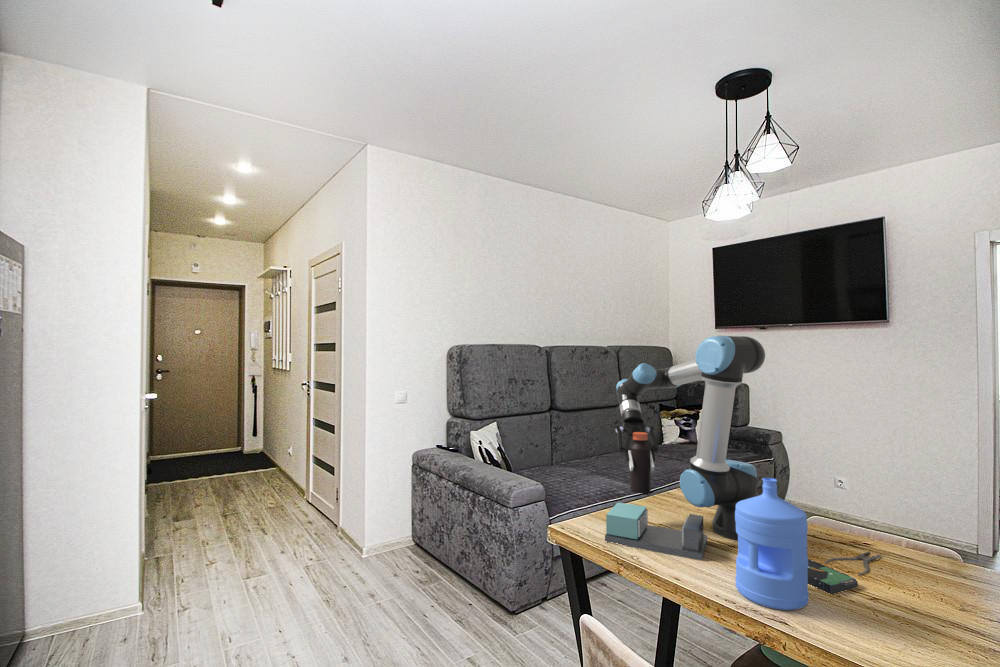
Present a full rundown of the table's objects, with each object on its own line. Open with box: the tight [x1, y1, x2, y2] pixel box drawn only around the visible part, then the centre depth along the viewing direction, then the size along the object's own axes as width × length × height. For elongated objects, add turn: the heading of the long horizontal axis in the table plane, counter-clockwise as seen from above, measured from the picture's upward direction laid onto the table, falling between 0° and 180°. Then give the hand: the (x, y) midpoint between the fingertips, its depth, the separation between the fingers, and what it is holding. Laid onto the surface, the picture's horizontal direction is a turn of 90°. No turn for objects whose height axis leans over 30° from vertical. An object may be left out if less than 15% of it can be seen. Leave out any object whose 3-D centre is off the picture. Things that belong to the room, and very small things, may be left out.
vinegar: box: [629, 431, 652, 495], centre depth 171 cm, size 7×7×20 cm
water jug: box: [735, 477, 810, 611], centre depth 121 cm, size 16×16×28 cm
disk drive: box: [808, 558, 859, 595], centre depth 129 cm, size 10×3×15 cm
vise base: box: [604, 513, 708, 561], centre depth 153 cm, size 28×16×8 cm, turn 62°
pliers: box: [824, 551, 882, 576], centre depth 140 cm, size 10×1×20 cm
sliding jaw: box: [605, 501, 649, 539], centre depth 158 cm, size 10×14×6 cm
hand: (642, 468), depth 168 cm, fingers closed on vinegar, 6 cm apart
